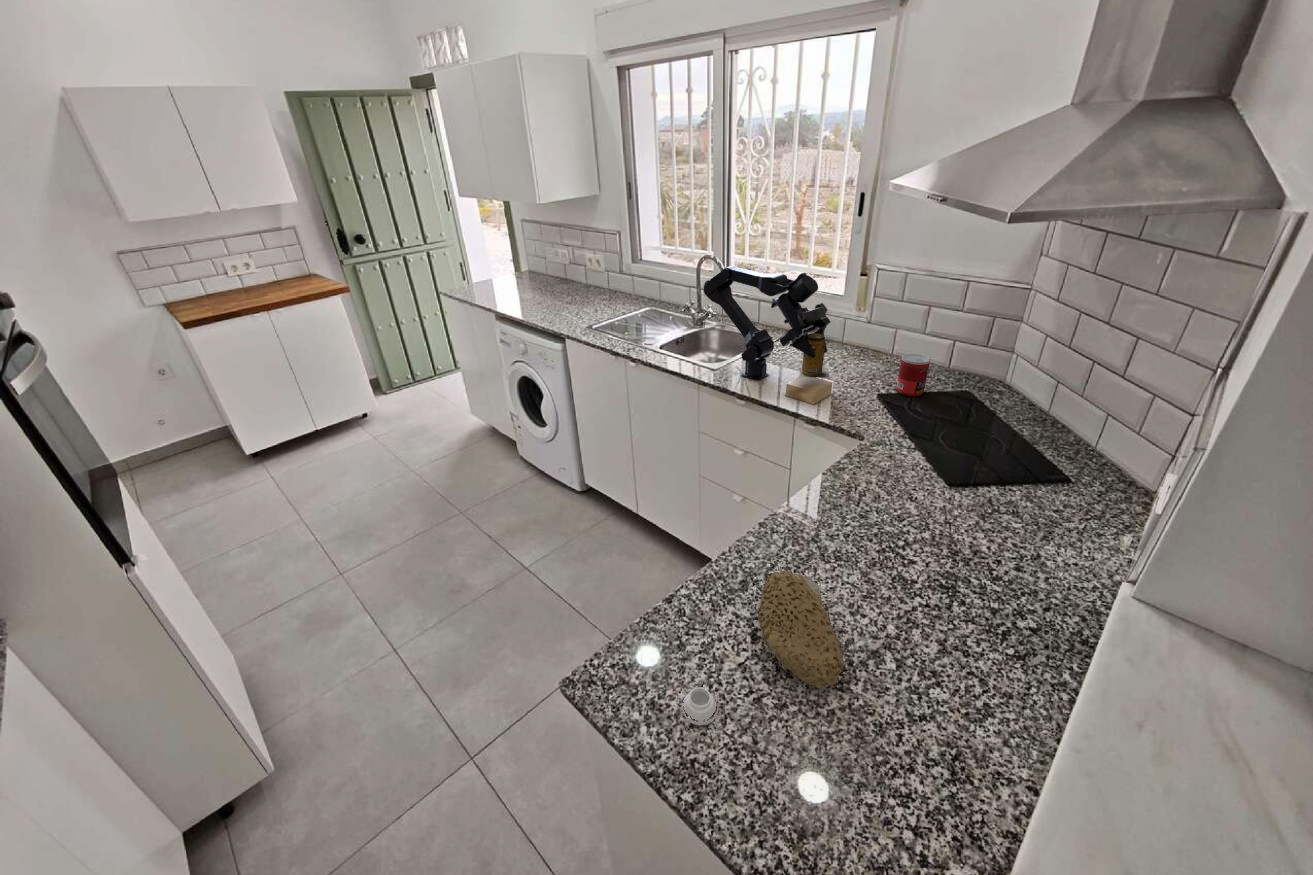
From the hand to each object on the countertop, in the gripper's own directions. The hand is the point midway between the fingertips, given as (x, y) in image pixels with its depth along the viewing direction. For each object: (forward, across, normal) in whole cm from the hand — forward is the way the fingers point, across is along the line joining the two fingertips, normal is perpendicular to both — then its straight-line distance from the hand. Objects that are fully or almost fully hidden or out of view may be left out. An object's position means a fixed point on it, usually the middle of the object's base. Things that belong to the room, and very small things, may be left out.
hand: (820, 354), depth 161 cm
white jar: (+44, -102, -26) cm, 114 cm away
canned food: (+23, +22, -4) cm, 32 cm away
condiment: (+4, 0, +6) cm, 7 cm away
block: (+8, -1, +11) cm, 13 cm away
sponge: (+45, -82, -27) cm, 98 cm away
